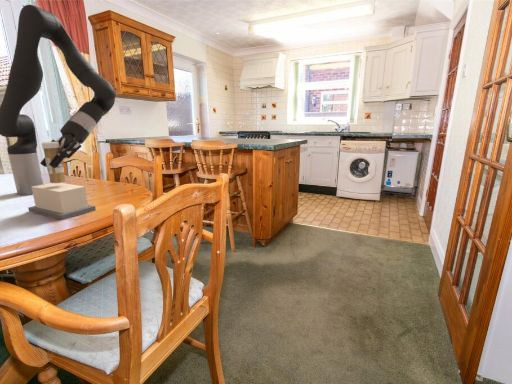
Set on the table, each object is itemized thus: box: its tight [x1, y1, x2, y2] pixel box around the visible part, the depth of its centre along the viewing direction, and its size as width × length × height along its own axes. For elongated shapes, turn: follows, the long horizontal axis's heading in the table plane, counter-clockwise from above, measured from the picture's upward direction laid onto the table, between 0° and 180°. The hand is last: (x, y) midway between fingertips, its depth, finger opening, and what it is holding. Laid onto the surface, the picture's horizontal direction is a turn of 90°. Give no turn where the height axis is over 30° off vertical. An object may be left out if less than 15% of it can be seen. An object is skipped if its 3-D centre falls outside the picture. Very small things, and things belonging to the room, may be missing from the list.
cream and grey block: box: [27, 182, 97, 221], centre depth 89 cm, size 19×11×9 cm, turn 65°
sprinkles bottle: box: [41, 141, 67, 184], centre depth 86 cm, size 5×5×14 cm
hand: (47, 165), depth 85 cm, fingers closed on sprinkles bottle, 4 cm apart
